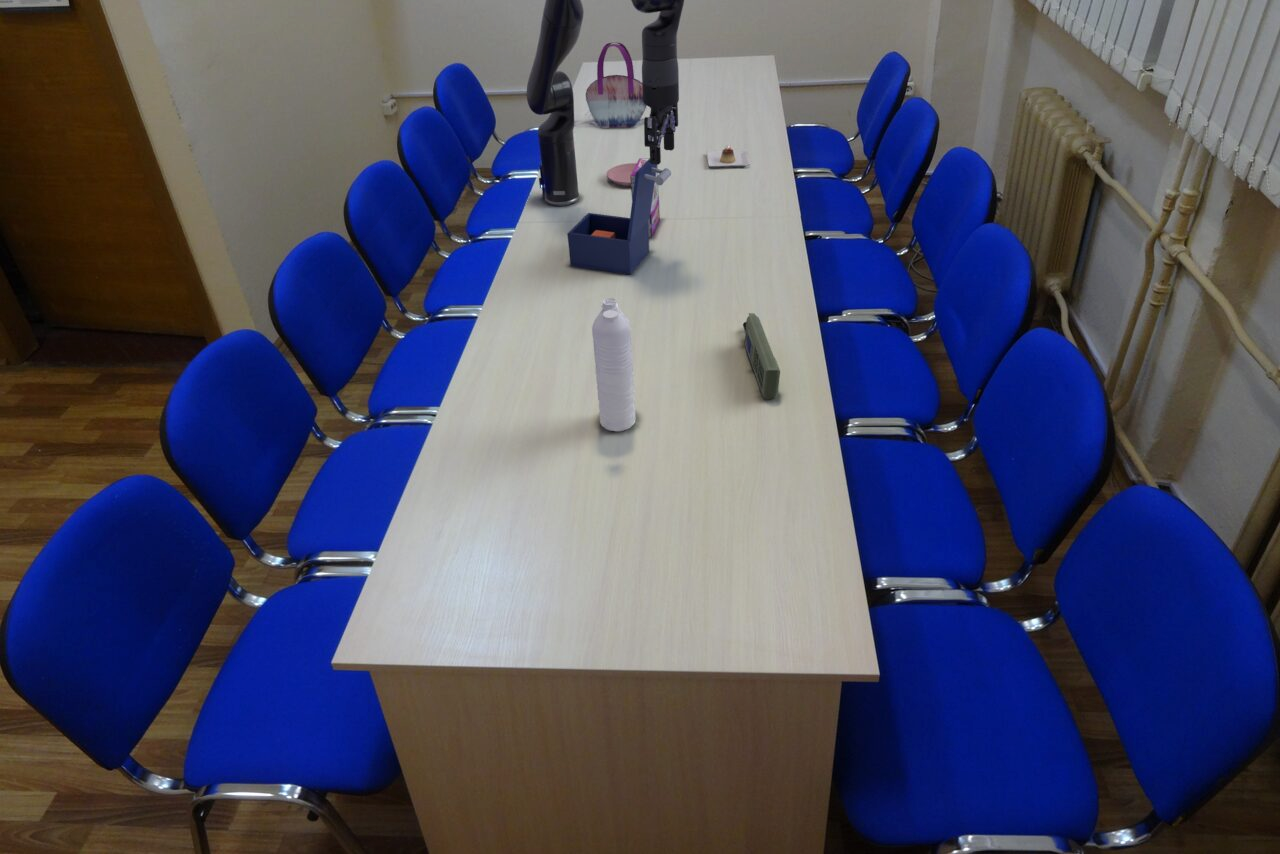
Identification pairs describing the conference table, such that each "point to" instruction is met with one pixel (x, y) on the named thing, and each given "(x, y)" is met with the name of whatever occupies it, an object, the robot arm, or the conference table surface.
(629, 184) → the plate
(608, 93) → the handbag
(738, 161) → the dessert
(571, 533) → the conference table surface
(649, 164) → the case lid
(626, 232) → the case
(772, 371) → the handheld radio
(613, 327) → the water bottle
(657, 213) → the candy bar box
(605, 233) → the cube
